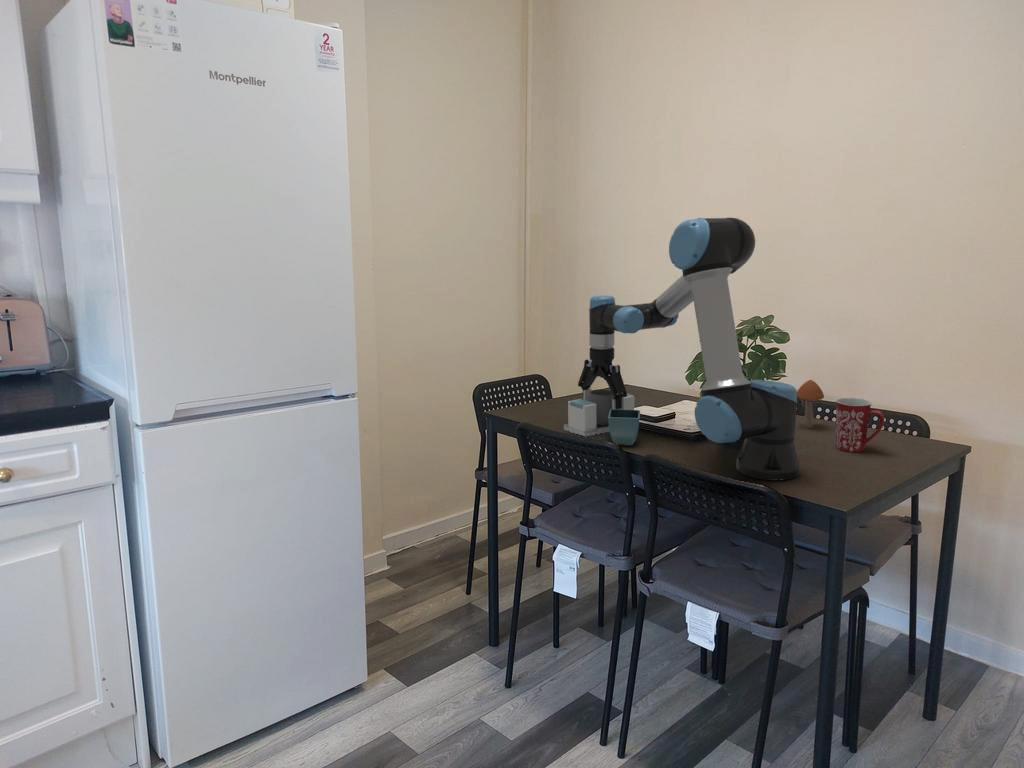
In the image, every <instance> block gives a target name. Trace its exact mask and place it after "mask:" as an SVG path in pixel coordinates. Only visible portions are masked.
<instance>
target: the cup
mask: <svg viewBox="0 0 1024 768" xmlns="http://www.w3.org/2000/svg"><path fill="white" fill-rule="evenodd" d="M613 398H614V396H613V394H612V392H611V390H610V389H601V388H600V389H592V391H590V393H589V398H588V401H590V402H593V403H594V404H596V425H600V426H604V425H609V421H608V416H609V412H610V409H612V399H613Z"/></svg>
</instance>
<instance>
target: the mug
mask: <svg viewBox="0 0 1024 768" xmlns="http://www.w3.org/2000/svg"><path fill="white" fill-rule="evenodd" d="M872 403H873V402H872V401H871V400H869V399H864V398H860V397H839V398H836V399H835V405H836V406H835V448H836V449H838V450H840V451H843V452H847V453H848V452H849V453H859V452H864V451H865V449H866V444H868V443H869V442H871V441H872V440H873V439H874V438H875V437H876V436H877V435H879V433H880V432H881V430H883V427H884V424H885V416H884V414H883V413H882V412H881V411H879V410H876V409H875V410H871V406H872ZM873 415H877V416H878V417H879V422H880V423H879V425H878V427H877V429H876V430H875V431H874V432H873V434H871V435H870V436H869V437H867V435H868V434H867V433H868V427H869V420H870V419H871V417H872V416H873Z"/></svg>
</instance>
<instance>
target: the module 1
mask: <svg viewBox="0 0 1024 768" xmlns="http://www.w3.org/2000/svg"><path fill="white" fill-rule="evenodd" d="M567 403H568V404H567V407H568V408H567V411H568V412H567V416H568V417H567V424H568V426H569V427H571V428H574V429H577V430H580V431H582V432H583V431H587V430H592V429H596V404H594V403H593V402H590V401H587V400H583V398H578V399H574V400H569V401H567Z"/></svg>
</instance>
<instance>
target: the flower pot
mask: <svg viewBox="0 0 1024 768" xmlns="http://www.w3.org/2000/svg"><path fill="white" fill-rule="evenodd" d="M640 416H641V410H640V409H634V410H622V409H610V412H609V416H608V421H609V431H610V432H609V436H610V438H611V441H612V443H614V442H615V443H618V444H628V445H627V446H633V445H634V443H635V441H636V440H637V437H638V433H639V426H640V418H641V417H640Z"/></svg>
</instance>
